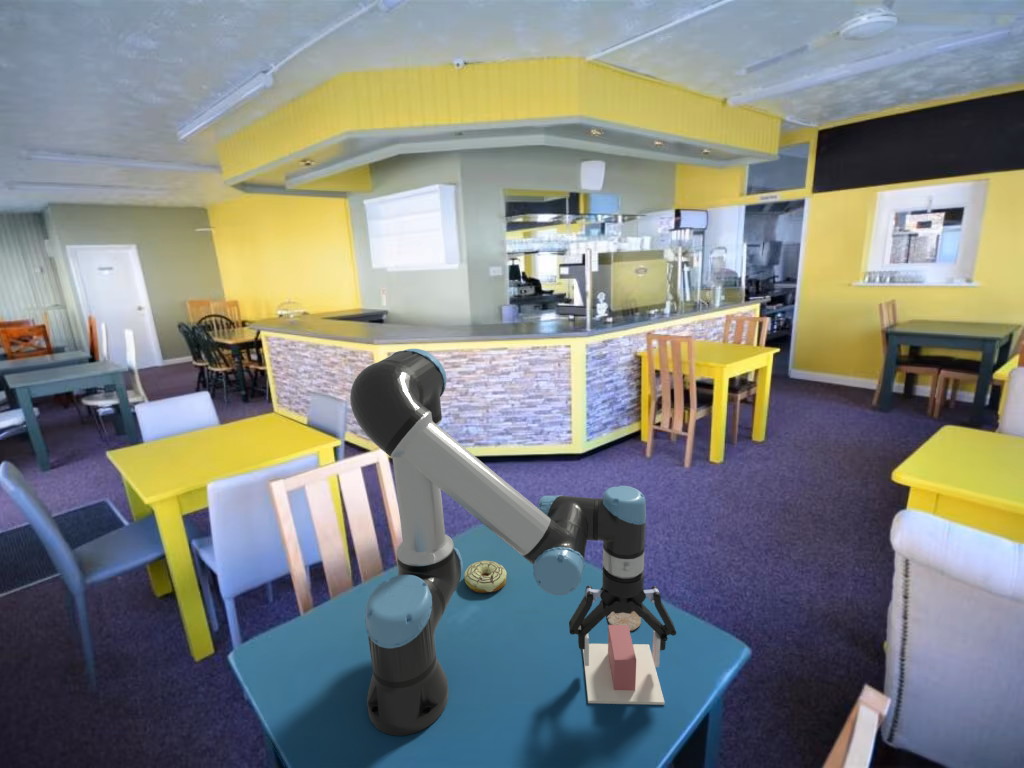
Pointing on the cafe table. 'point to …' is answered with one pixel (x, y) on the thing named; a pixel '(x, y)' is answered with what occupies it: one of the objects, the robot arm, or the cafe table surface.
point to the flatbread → (625, 619)
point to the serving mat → (602, 681)
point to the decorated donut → (485, 576)
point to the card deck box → (621, 657)
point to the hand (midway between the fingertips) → (620, 661)
